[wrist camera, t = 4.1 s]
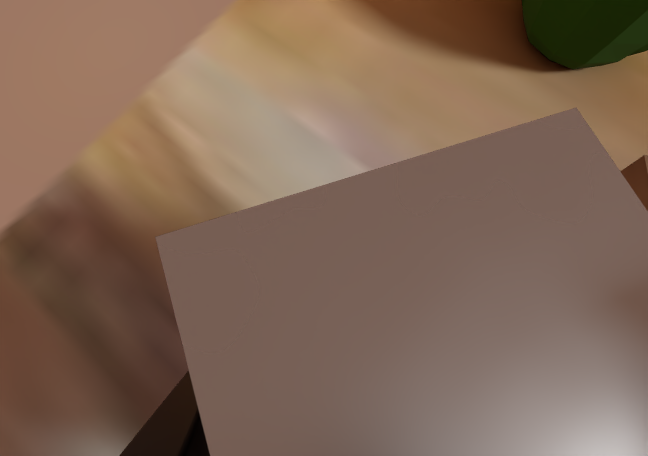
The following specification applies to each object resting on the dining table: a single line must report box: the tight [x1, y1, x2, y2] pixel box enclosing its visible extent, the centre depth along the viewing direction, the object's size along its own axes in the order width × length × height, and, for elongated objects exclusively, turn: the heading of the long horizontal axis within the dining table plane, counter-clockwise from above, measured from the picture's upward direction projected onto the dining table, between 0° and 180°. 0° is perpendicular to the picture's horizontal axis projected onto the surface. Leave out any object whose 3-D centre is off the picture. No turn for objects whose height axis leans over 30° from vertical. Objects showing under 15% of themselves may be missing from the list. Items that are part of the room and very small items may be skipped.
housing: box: [155, 108, 648, 456], centre depth 9 cm, size 6×6×11 cm
